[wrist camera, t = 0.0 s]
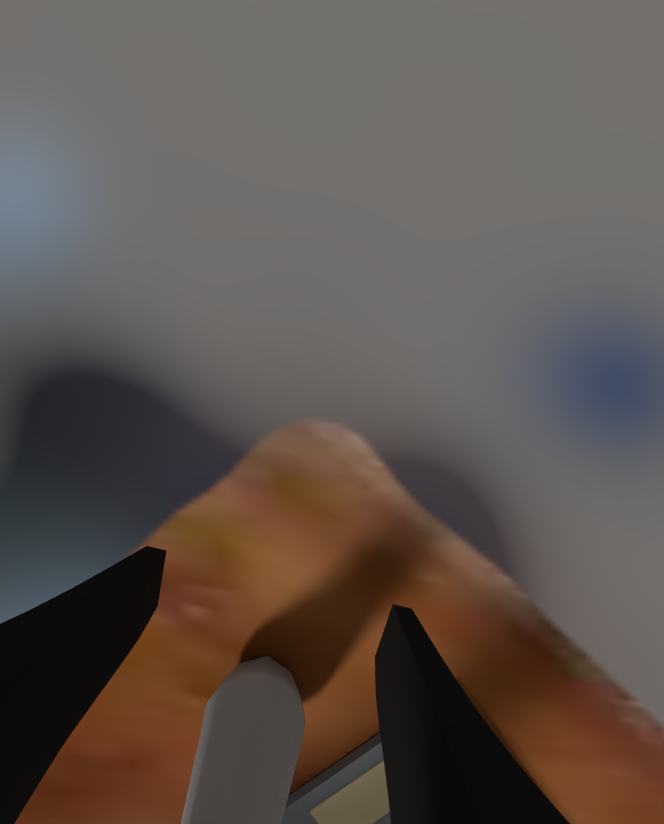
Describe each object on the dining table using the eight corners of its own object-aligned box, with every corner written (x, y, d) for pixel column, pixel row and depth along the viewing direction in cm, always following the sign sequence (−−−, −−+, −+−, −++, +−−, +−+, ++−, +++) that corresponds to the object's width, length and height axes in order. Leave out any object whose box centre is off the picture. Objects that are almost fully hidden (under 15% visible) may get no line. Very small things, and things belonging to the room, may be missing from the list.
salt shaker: (306, 641, 21) (272, 1029, 8) (309, 727, 22) (280, 1233, 9) (214, 645, 21) (33, 1041, 8) (218, 730, 21) (50, 1245, 8)
